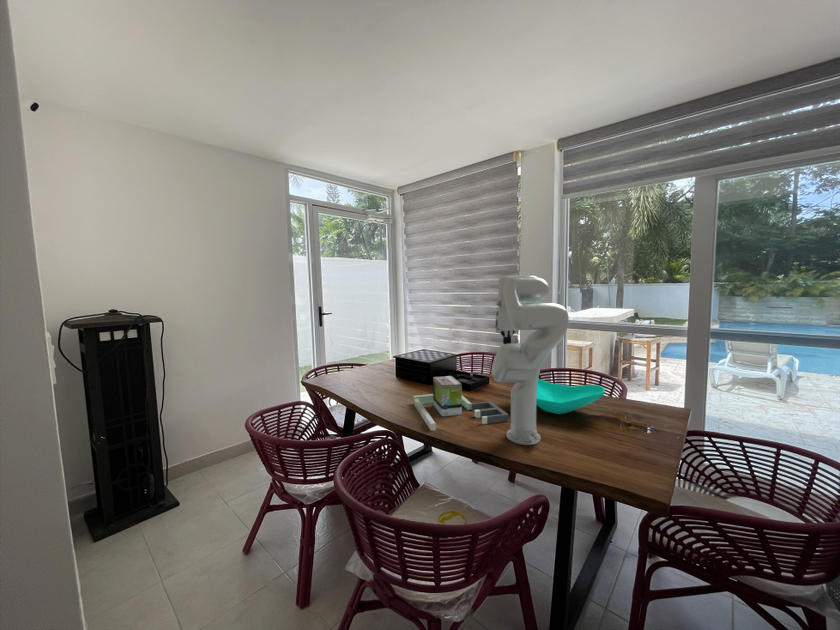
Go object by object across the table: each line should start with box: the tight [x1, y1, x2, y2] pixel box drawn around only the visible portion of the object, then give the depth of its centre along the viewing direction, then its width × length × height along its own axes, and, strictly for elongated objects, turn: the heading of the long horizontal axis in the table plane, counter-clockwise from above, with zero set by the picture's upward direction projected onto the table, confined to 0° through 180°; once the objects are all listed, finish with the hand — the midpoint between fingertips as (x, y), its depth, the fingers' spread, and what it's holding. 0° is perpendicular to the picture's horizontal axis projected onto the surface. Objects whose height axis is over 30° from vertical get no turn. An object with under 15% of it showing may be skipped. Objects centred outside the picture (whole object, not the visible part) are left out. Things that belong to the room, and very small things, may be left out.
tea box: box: [432, 375, 463, 417], centre depth 159 cm, size 15×10×15 cm, turn 13°
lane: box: [412, 393, 487, 432], centre depth 156 cm, size 33×25×4 cm
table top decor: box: [514, 378, 606, 415], centre depth 155 cm, size 40×28×13 cm
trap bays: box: [471, 401, 510, 425], centre depth 152 cm, size 17×10×3 cm, turn 14°
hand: (507, 345), depth 149 cm, fingers closed
